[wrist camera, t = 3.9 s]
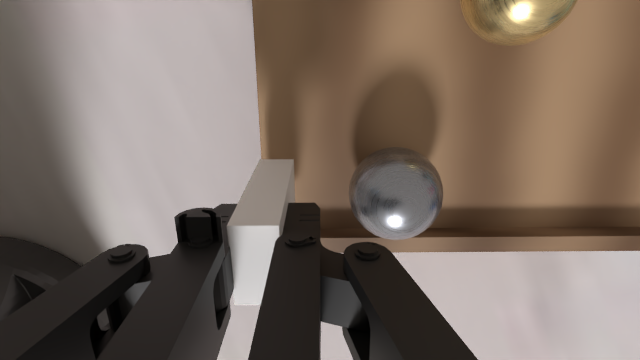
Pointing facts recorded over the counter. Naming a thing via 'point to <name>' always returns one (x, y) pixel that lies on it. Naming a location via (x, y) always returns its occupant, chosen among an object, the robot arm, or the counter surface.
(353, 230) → the walnut runway
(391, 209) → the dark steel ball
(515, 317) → the counter surface
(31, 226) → the counter surface
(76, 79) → the counter surface
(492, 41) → the brass ball
